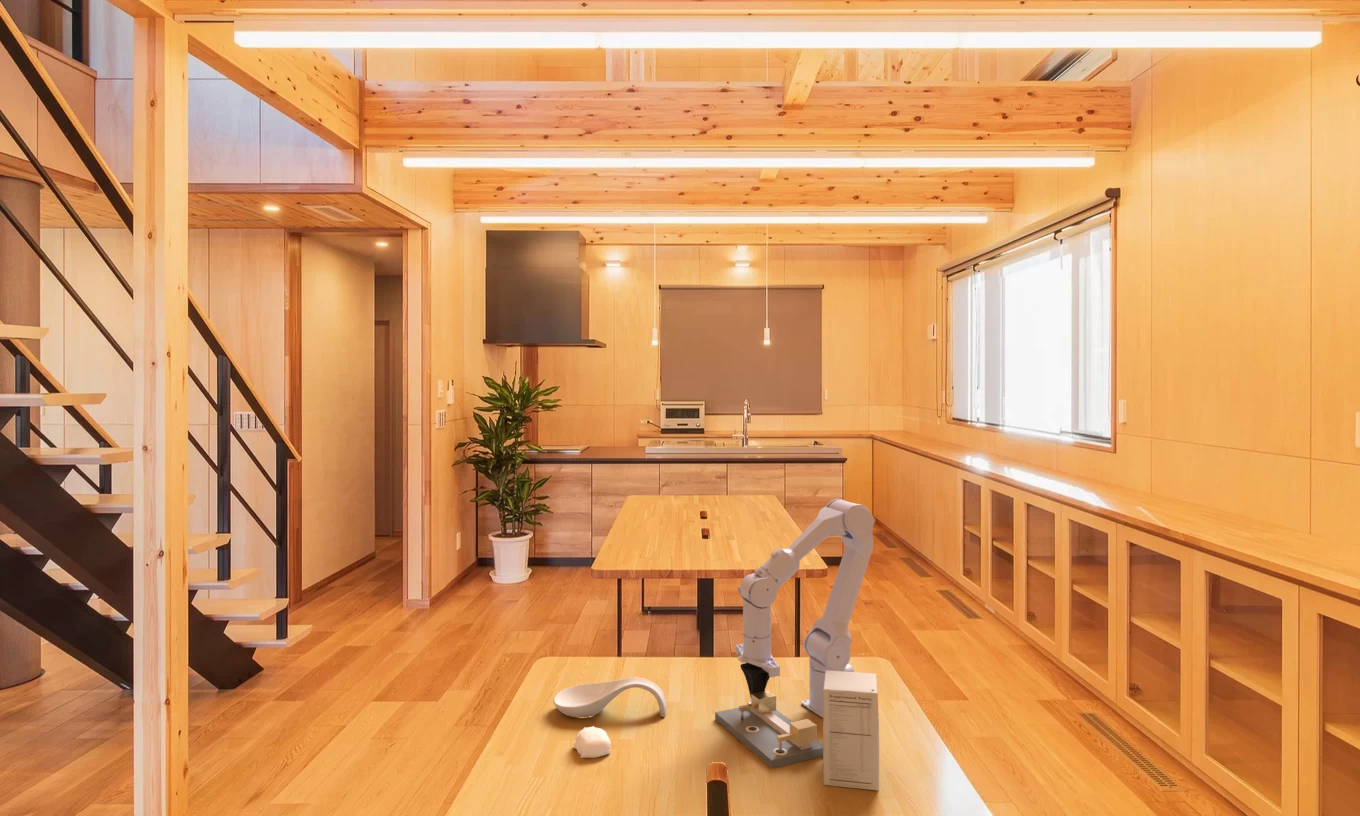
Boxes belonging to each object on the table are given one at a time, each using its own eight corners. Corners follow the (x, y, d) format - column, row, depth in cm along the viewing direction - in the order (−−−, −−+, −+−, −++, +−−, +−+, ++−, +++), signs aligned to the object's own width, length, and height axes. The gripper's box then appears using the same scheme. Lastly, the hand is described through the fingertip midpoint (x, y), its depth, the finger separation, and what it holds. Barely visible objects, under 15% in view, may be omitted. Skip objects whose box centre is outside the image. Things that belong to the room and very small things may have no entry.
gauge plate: (765, 708, 160) (765, 682, 160) (827, 754, 140) (827, 724, 140) (715, 719, 155) (715, 691, 155) (771, 768, 135) (771, 737, 135)
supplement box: (878, 765, 136) (878, 672, 136) (879, 792, 127) (880, 693, 127) (824, 759, 139) (824, 668, 138) (822, 785, 130) (822, 688, 129)
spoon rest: (548, 725, 153) (548, 690, 153) (559, 701, 165) (558, 668, 165) (665, 726, 153) (665, 691, 153) (667, 702, 165) (667, 669, 164)
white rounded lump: (570, 744, 145) (570, 724, 145) (604, 738, 147) (604, 719, 147) (579, 763, 138) (579, 743, 138) (615, 757, 140) (615, 737, 140)
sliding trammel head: (768, 710, 155) (768, 690, 155) (776, 716, 153) (776, 695, 153) (736, 717, 152) (736, 696, 152) (743, 723, 150) (743, 702, 149)
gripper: (723, 626, 160) (723, 689, 161) (757, 647, 147) (757, 717, 147) (752, 622, 163) (752, 684, 163) (788, 642, 150) (788, 710, 150)
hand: (756, 699), depth 156 cm, fingers closed
